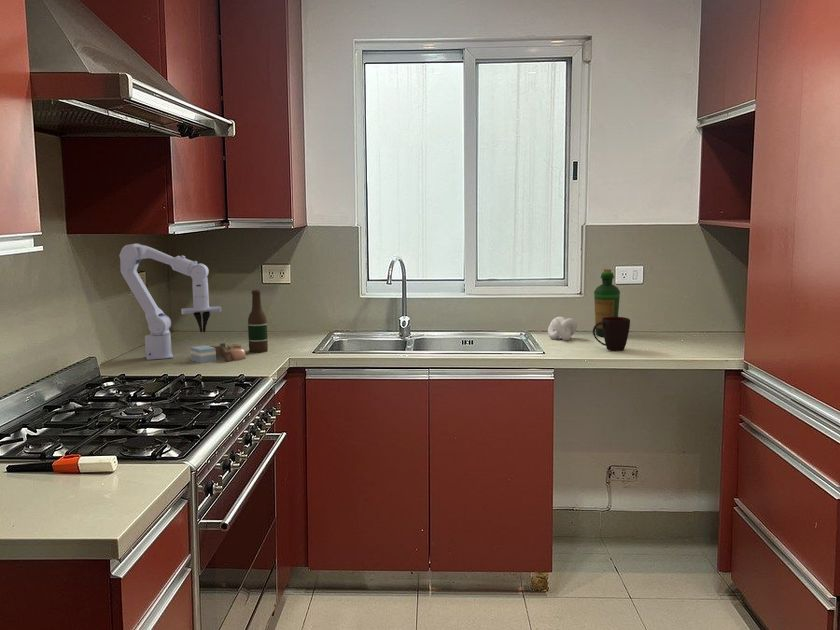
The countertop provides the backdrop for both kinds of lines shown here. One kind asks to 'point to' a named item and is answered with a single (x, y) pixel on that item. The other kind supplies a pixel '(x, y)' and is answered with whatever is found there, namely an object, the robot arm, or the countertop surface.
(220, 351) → the display stand
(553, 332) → the white lumpy piece
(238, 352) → the pink rounded block
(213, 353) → the carton
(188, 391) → the countertop surface
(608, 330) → the cup
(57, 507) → the countertop surface
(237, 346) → the maple block
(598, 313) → the bottle
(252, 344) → the beer bottle
